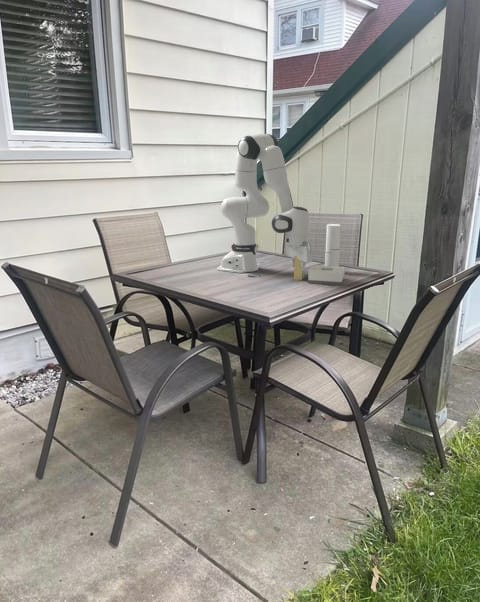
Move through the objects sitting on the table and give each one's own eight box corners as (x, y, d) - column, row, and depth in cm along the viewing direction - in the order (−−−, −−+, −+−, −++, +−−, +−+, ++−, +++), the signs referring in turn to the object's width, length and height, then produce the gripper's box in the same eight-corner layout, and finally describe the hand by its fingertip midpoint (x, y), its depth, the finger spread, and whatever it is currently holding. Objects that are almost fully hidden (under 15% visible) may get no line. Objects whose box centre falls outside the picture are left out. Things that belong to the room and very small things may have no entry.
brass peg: (293, 279, 239) (294, 256, 235) (295, 277, 242) (295, 254, 239) (301, 280, 238) (302, 256, 234) (303, 278, 241) (303, 254, 238)
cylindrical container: (338, 273, 250) (340, 225, 243) (324, 273, 252) (326, 225, 244) (338, 270, 257) (340, 224, 250) (324, 270, 258) (326, 223, 251)
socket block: (308, 282, 232) (308, 270, 231) (312, 276, 244) (312, 265, 243) (341, 285, 228) (342, 272, 226) (344, 278, 240) (344, 267, 238)
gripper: (316, 243, 227) (315, 271, 231) (294, 237, 245) (293, 263, 248) (305, 244, 224) (304, 273, 228) (283, 238, 242) (283, 264, 246)
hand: (298, 268), depth 238 cm, fingers closed on brass peg, 6 cm apart
